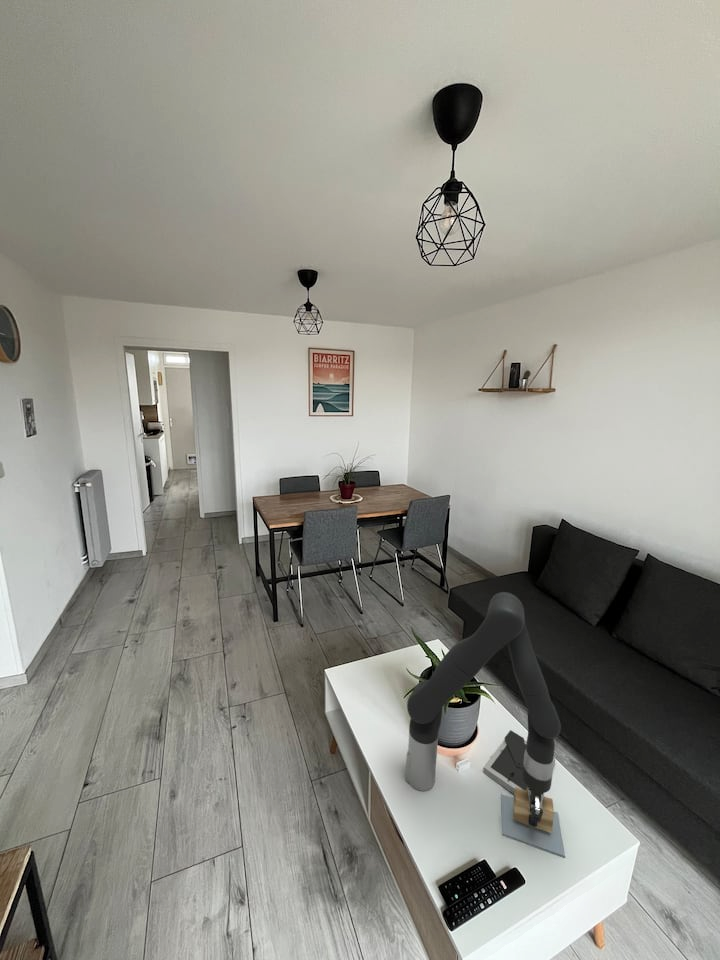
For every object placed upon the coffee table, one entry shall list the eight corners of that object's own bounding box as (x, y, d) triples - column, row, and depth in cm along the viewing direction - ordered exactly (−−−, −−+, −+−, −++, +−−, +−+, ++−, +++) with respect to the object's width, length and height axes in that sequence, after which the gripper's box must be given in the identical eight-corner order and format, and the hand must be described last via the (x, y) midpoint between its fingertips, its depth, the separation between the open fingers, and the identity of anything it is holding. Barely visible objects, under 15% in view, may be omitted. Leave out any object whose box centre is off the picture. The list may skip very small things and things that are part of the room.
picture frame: (510, 736, 139) (483, 772, 125) (510, 730, 139) (483, 765, 125) (555, 763, 128) (531, 806, 114) (555, 756, 128) (531, 797, 113)
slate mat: (502, 835, 106) (502, 833, 106) (501, 795, 117) (501, 794, 117) (564, 857, 101) (565, 856, 101) (557, 814, 112) (557, 812, 112)
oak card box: (551, 833, 105) (554, 812, 104) (513, 819, 109) (515, 799, 107) (549, 818, 109) (552, 798, 108) (512, 806, 112) (515, 786, 111)
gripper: (556, 795, 98) (549, 848, 101) (548, 750, 111) (542, 798, 114) (525, 785, 100) (519, 837, 103) (521, 742, 114) (516, 790, 117)
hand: (531, 816), depth 109 cm, fingers closed on oak card box, 4 cm apart
